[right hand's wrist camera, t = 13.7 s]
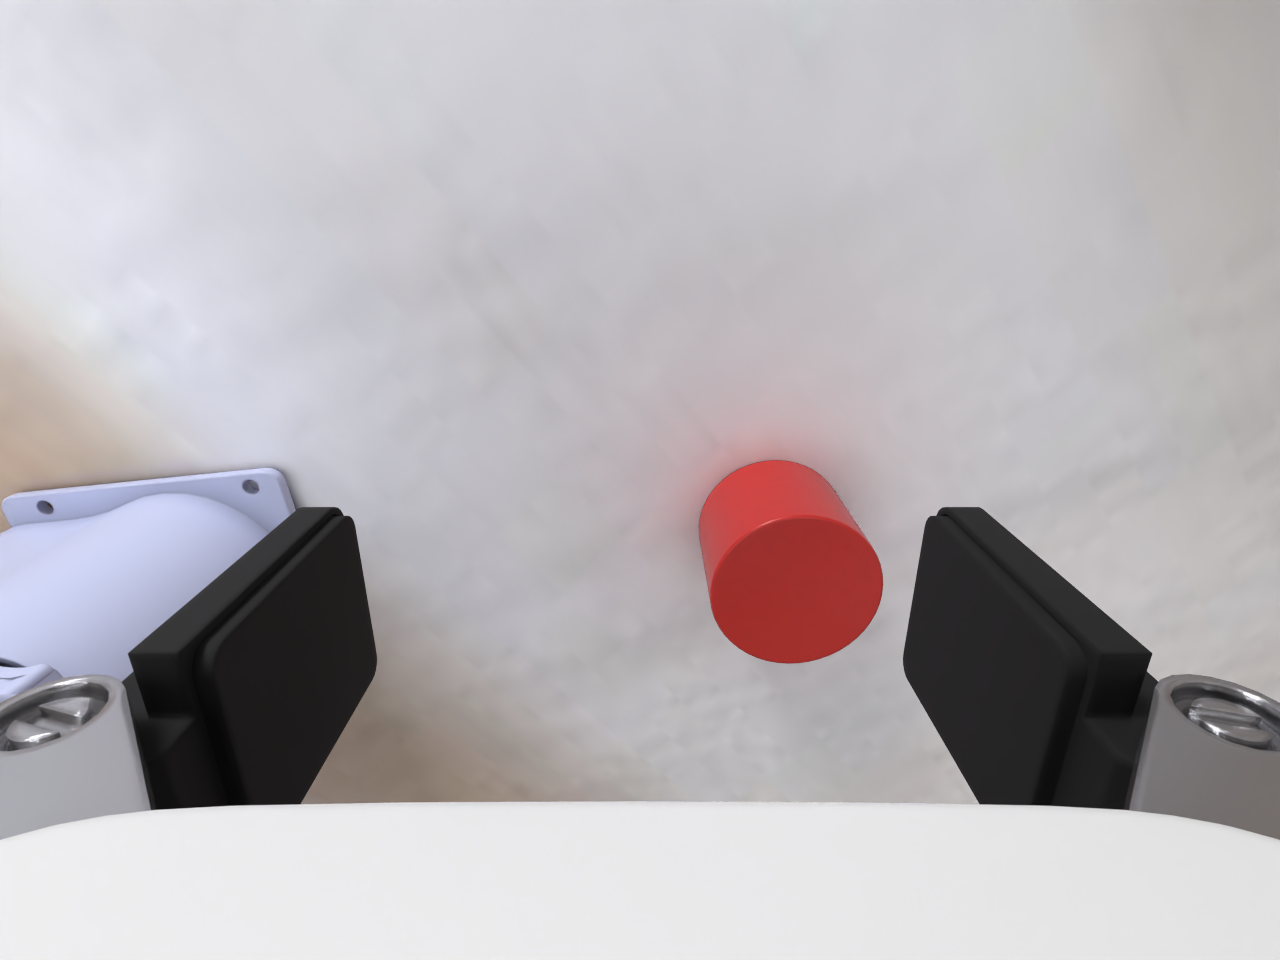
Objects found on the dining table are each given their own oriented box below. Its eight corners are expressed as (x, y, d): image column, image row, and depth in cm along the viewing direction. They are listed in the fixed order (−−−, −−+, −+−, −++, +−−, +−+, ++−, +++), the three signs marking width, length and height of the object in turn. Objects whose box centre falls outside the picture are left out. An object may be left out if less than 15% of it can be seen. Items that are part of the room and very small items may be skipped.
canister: (673, 500, 23) (680, 563, 19) (807, 434, 22) (844, 485, 18) (736, 609, 24) (755, 688, 21) (864, 551, 24) (909, 622, 20)
